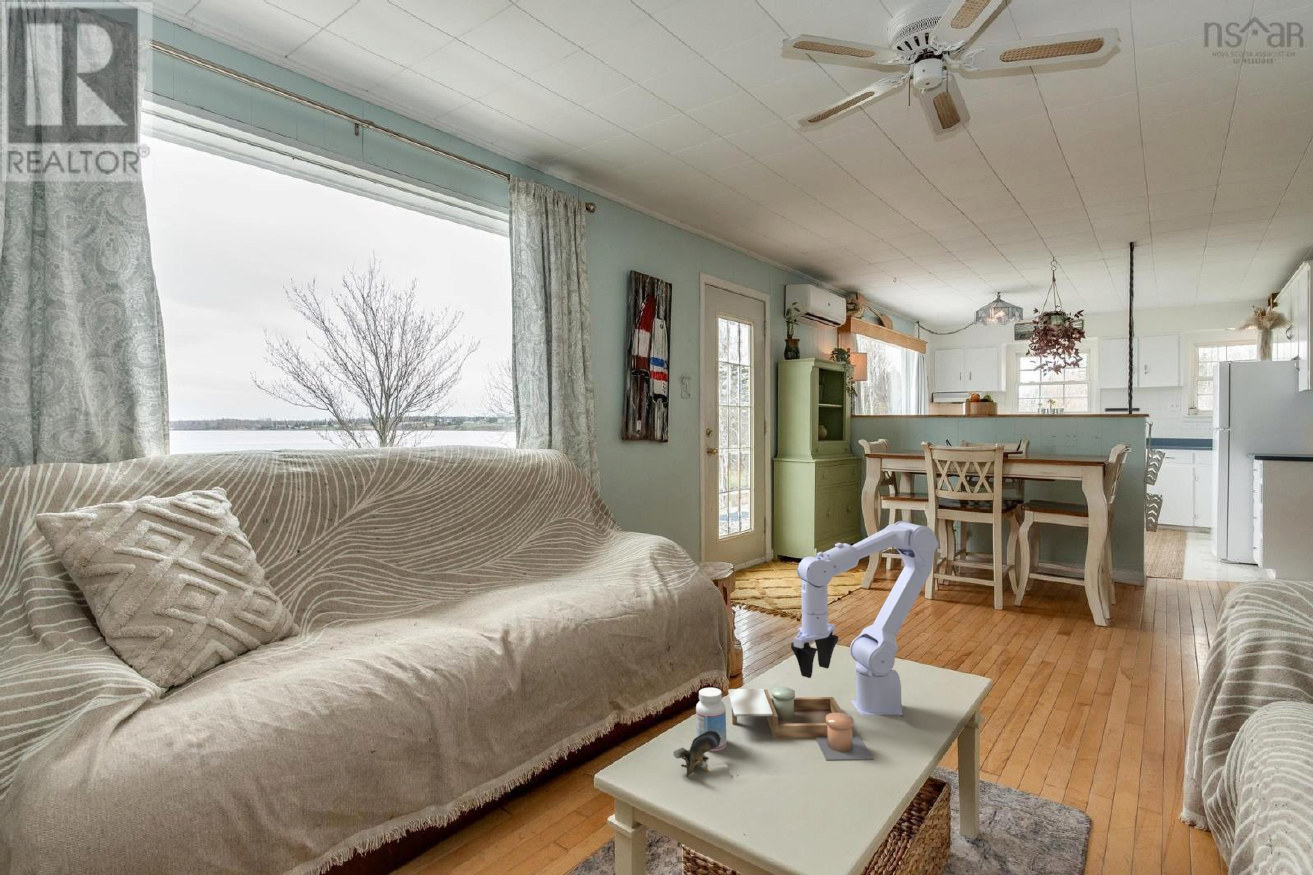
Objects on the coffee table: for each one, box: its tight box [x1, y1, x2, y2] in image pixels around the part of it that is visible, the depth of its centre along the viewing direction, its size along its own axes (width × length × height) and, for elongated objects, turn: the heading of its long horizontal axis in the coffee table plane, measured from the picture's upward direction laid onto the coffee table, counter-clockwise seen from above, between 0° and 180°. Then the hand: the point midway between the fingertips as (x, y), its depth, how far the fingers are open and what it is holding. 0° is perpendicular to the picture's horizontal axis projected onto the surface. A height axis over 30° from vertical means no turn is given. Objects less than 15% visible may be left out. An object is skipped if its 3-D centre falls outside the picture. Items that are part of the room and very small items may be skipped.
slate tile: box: [814, 735, 874, 762], centre depth 128 cm, size 9×9×1 cm
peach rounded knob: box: [826, 712, 855, 752], centre depth 129 cm, size 5×5×6 cm
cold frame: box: [727, 688, 844, 739], centre depth 140 cm, size 24×14×5 cm, turn 89°
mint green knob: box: [771, 686, 796, 720], centre depth 143 cm, size 5×5×6 cm
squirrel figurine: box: [673, 731, 721, 778], centre depth 124 cm, size 8×7×9 cm
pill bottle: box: [695, 687, 727, 752], centre depth 132 cm, size 6×6×11 cm
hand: (815, 671), depth 145 cm, fingers open, 7 cm apart
